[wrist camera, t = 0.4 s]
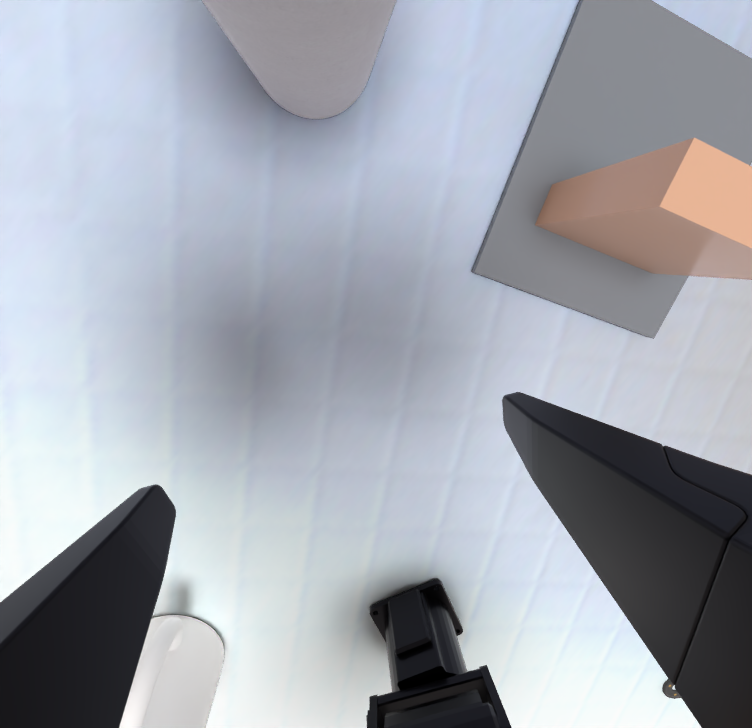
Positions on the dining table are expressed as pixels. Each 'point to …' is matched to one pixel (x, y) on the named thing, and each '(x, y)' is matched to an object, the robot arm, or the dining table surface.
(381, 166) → the dining table surface
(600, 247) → the tile
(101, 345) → the dining table surface
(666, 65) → the mat
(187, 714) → the mug
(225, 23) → the coffee cup
